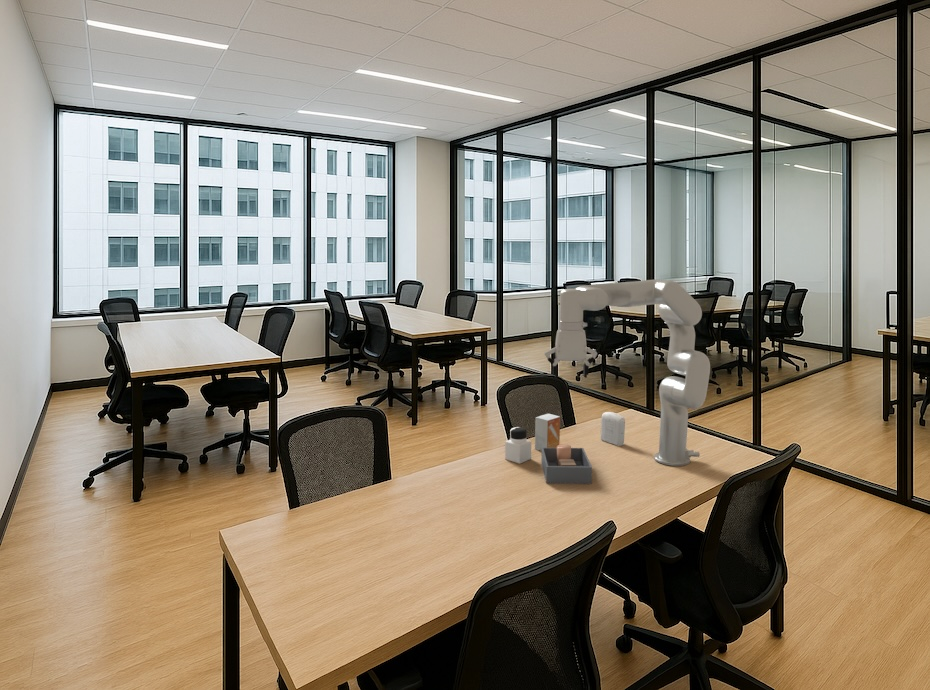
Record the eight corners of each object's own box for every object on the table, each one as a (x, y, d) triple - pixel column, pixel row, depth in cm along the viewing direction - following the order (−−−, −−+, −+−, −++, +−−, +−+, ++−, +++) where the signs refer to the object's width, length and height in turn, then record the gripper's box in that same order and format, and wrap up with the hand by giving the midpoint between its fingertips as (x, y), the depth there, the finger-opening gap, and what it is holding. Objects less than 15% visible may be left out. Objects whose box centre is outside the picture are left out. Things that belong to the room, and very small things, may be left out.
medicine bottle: (531, 459, 227) (531, 428, 225) (519, 464, 222) (520, 432, 220) (516, 454, 232) (516, 424, 230) (504, 459, 227) (504, 428, 225)
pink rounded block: (564, 461, 222) (564, 443, 220) (574, 465, 218) (573, 447, 216) (554, 464, 219) (553, 446, 218) (563, 469, 215) (563, 450, 214)
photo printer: (625, 444, 242) (626, 414, 240) (618, 446, 240) (619, 416, 238) (606, 438, 251) (607, 409, 249) (598, 440, 248) (599, 410, 246)
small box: (547, 453, 234) (547, 420, 231) (534, 449, 238) (534, 417, 236) (560, 448, 239) (560, 416, 237) (547, 444, 244) (547, 413, 241)
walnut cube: (575, 478, 206) (576, 464, 205) (560, 478, 206) (561, 464, 205) (573, 473, 211) (573, 459, 210) (558, 473, 211) (559, 459, 210)
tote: (582, 462, 223) (583, 447, 222) (591, 483, 204) (592, 467, 203) (541, 462, 223) (541, 447, 222) (546, 483, 205) (546, 466, 204)
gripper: (595, 324, 203) (594, 374, 206) (543, 325, 204) (543, 374, 207) (599, 327, 196) (598, 379, 199) (545, 328, 196) (545, 379, 199)
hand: (570, 376), depth 203 cm, fingers open, 9 cm apart
